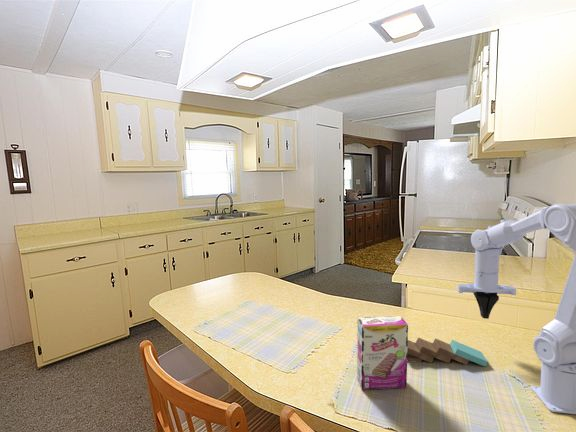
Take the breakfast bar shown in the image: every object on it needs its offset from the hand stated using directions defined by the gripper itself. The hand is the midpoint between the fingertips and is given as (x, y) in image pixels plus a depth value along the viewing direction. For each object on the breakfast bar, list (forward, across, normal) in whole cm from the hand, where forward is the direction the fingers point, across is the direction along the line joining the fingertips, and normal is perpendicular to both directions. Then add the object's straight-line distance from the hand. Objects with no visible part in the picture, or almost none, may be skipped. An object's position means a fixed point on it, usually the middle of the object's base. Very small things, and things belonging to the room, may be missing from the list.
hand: (484, 317), depth 91 cm
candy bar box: (+10, +30, +22) cm, 38 cm away
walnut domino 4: (+9, +7, +7) cm, 13 cm away
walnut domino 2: (+9, +19, +8) cm, 22 cm away
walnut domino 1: (+9, +16, +8) cm, 20 cm away
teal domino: (+9, +3, +8) cm, 12 cm away
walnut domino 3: (+9, +12, +7) cm, 16 cm away
